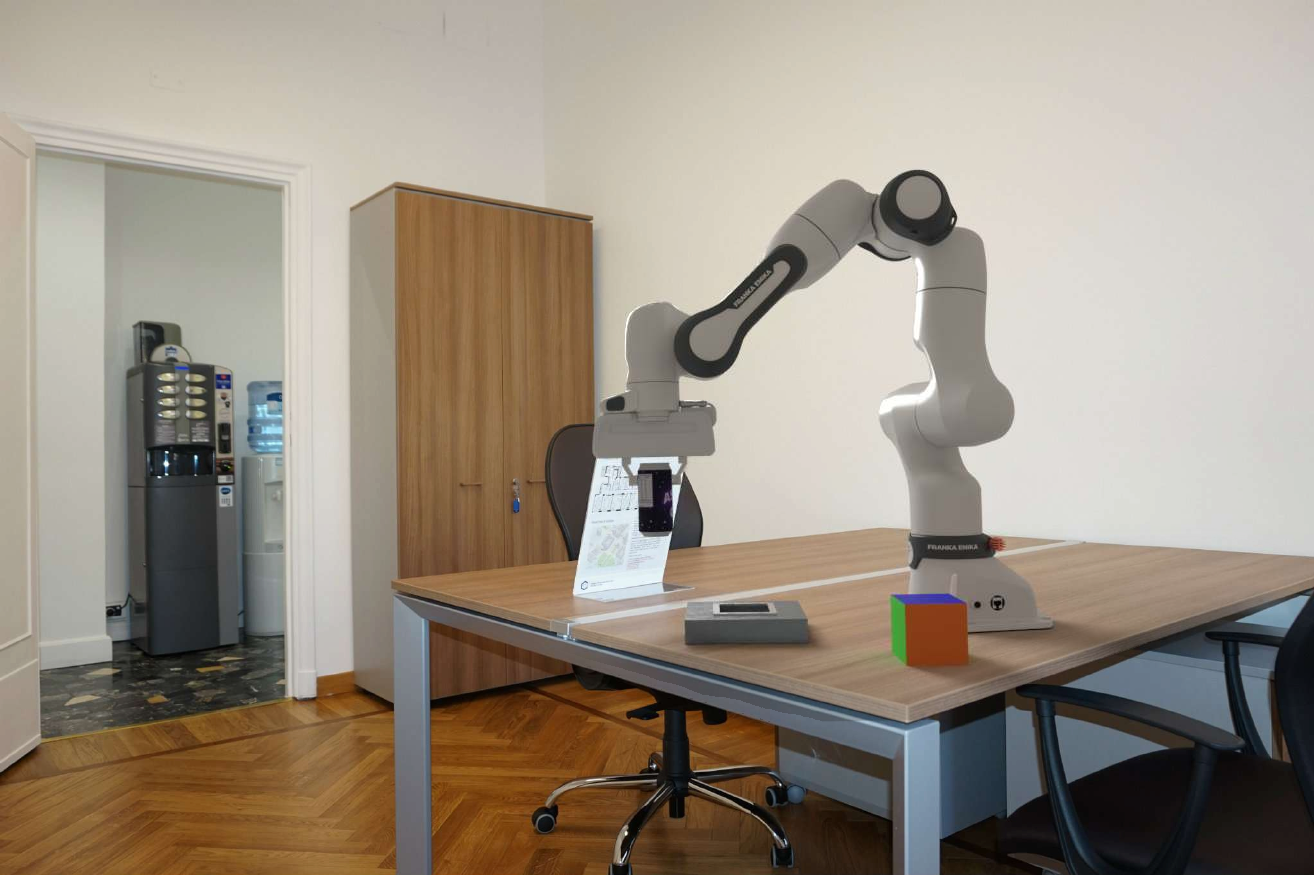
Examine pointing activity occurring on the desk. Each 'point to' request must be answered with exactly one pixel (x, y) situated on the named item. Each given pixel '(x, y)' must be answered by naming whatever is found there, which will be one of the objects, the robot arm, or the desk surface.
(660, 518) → the beverage can
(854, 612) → the desk surface
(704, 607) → the housing
